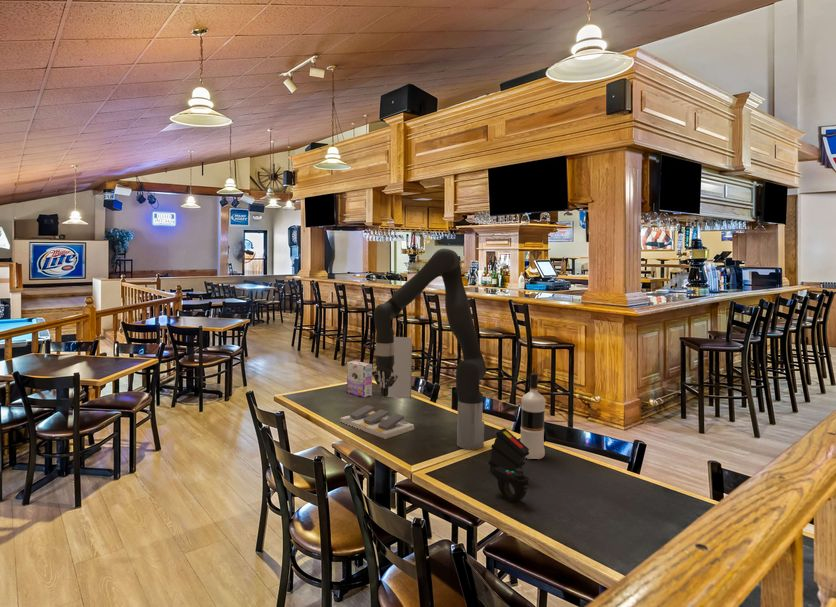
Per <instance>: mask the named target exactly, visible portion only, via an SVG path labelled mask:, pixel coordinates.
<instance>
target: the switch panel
mask: <svg viewBox="0 0 836 607" xmlns="http://www.w3.org/2000/svg"><path fill="white" fill-rule="evenodd" d="M375 412H376V411H375V410H374V411H372V412H370V413H368V414H366V415H365V416H363V417H361V418H359V419H355V418H352V417H350V415H346V416H342V417H340V418H339V420H340V423H341V422H342V423H341V424H343V423H345V424H344V425H346V424H347V425H346V426H349V425H350V426H349V427H352V426H353V427H352V428H354V427H355V428H354V429H357V428H358V430H360V429H361V430H360V431H362V430H363V432H366V433H368V434H371V435H374V436H376V437H379V438H381V439H385V440H386V439H390V438H393V437H397V436H399V435H401V434H405V433H408V432H410V431H414V430H415V424H413V423H410V422H408V421H405V420H401V421H400V422H398V423H397V424H396V425H394V426H393V427H391V428H390V429H388V430H384V429H381V428H379V427H378V424H380V423H381V422H383V421H384V420H386V419H387V418H389V417H390V416H391V415H390V416H389V415H387V416H385V417H384V418H382V419H380V420H378V421H377V422H375V423H373V424H369V423H366V422H364V421H363V419H364V418H366V417H368V416H369V415H371V414H373V413H375Z"/></svg>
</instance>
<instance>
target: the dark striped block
mask: <svg viewBox="0 0 836 607" xmlns="http://www.w3.org/2000/svg"><path fill="white" fill-rule="evenodd" d="M495 435H496V437H495V439H494V442H493V443H492V444H491V447H490V448H491V452H490V460H488V461H487V462H488V465H489V472H490V471H491V472H492V470H493V468H495V467H497V466H501V467H504V468H506V469H508V470H511V471H514V472H516V473H517V471H516V469H517V468H521V469H523V465H524V466H525V464H526V462H525V459H526V458H525V457H526V456H527V455H529V452H528V451H529V449H528V448H527V447H526V446H525V445H524V444H523V443H522V442H520V439H518V438H517V437H515V435H513V433H511V432H510V431H509V429H507V428H505V427H504V428H500V429H499V431H496V432H495ZM521 473H522V474H523V475H524V471H523V472H521Z"/></svg>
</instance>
